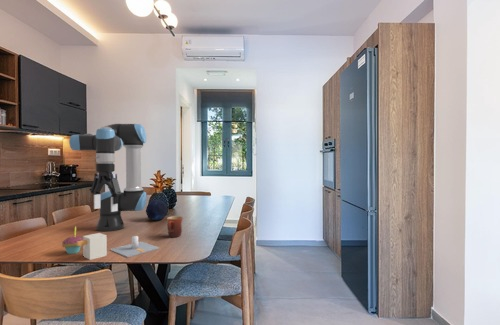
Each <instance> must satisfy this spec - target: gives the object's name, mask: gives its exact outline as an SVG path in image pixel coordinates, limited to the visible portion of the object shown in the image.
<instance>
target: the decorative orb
mask: <svg viewBox="0 0 500 325" xmlns="http://www.w3.org/2000/svg"><path fill="white" fill-rule="evenodd" d="M145 208H146V210H145V213H146V216H147V218H149V220H151V221H156V222H157V221H158V222H159V221H162V220H163V219H164V218H166V216H167V214H168V206H167V203H165V202H164V201H163V200H161V199H155V200H151V201H150V202H149V203H148V204H147V206H146V207H145Z"/></svg>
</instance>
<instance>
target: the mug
mask: <svg viewBox="0 0 500 325" xmlns="http://www.w3.org/2000/svg"><path fill="white" fill-rule="evenodd" d="M183 219H184V217H183V216H179V215H178V216H177V215H175V216H174V215H173V216H168V217H166V220H167V234H168V237H170V238H179V237H181V236H182V232H183V231H182V230H183V229H182V228H183V227H182V226H183V225H182V222H183Z"/></svg>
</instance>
